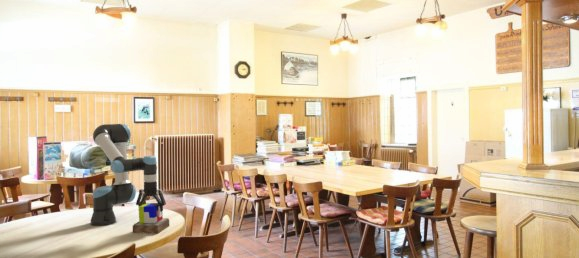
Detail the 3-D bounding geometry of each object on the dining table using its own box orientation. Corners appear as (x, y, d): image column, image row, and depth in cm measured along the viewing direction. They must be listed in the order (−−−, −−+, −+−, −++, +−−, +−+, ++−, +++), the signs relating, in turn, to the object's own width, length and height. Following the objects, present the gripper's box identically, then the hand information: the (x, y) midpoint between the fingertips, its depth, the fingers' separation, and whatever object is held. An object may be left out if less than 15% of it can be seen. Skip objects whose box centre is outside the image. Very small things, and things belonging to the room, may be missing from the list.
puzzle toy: (154, 223, 242) (153, 206, 241) (139, 223, 243) (138, 206, 243) (162, 218, 251) (161, 203, 251) (148, 218, 253) (147, 203, 253)
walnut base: (132, 232, 241) (132, 224, 240) (145, 225, 256) (145, 217, 256) (158, 233, 239) (158, 225, 238) (169, 225, 255) (169, 218, 254)
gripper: (129, 181, 244) (130, 217, 245) (166, 182, 241) (166, 218, 242) (135, 179, 251) (136, 214, 252) (171, 180, 249) (171, 215, 250)
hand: (151, 216), depth 247 cm, fingers open, 11 cm apart
